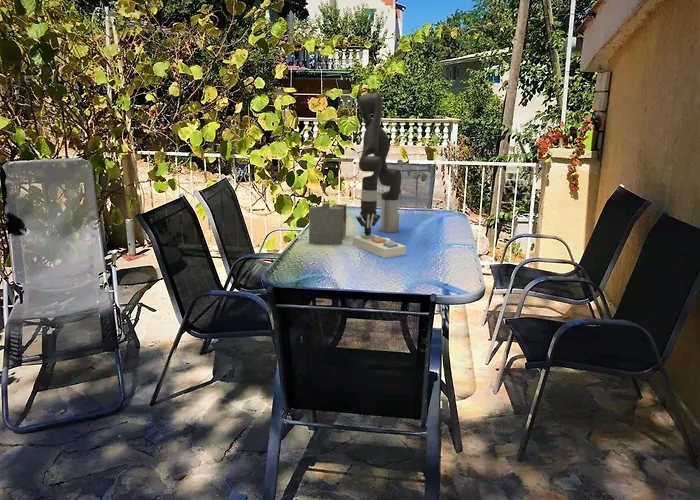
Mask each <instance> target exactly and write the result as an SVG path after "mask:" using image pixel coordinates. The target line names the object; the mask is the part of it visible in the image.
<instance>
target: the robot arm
mask: <svg viewBox="0 0 700 500" xmlns="http://www.w3.org/2000/svg"><path fill="white" fill-rule="evenodd" d="M357 103H358V104H357V105H358V108H359V112H360V116H361V117H362V120H363V122H364V125H365V131H364V134H363V142H362V143H363V144H362V145H363V147H362V153H361V156H360V158H359V162H358V168H359V170H360V171H361V172H366V173H367V172H370V173H371V172H373V173H372V175H369V176H368V175H367V176H364V177H362V180H361V193H360V194H361V195H360V213H359V215H357V216H355V219H356V220H357V222H358V223H359V225H360V226H361V227H364V233H363V234H365V235H367V236H368V235H370V234H372V227H375V226H376V224H377V223H378V221H379V223H380V224H379V231H380V232H383V233H397V232H399V231H398V230H399V229H400V228H399V227H400V213H399V204H400V203H399V200H400V196H401V185H402V179H403V177H402V172H401V170H400V169H397V168H389V167H388V164H387V157H388V155H389V152H390V149H391V148H390V147H391V144H390V141H389V137H388V134H387V132H386V131H385V130H384V129H383V128H382V127H381V121H382V115H383V109H384V103H383V98H382V95H381V94H380V93H379V92H374V93H368V94H363V95H360V96H359V97H358V99H357ZM372 115H373V117H372ZM371 155H372V156H371ZM378 180H379V183H380V184H381V185H382V186H385V187H389V190H388V191H386V192H382V194H381V196H380V197H381V198H380V199H381V201H380V214H378V212H377V208H378V207H377V206H378ZM379 219H380V220H379Z"/></svg>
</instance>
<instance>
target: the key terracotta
mask: <svg viewBox="0 0 700 500" xmlns="http://www.w3.org/2000/svg"><path fill="white" fill-rule="evenodd" d="M383 238H384V237H382V238H373V239H372V241H373V242H375V243H384V242H386V240H385V239H386V238H385V239H383Z"/></svg>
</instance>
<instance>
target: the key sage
mask: <svg viewBox="0 0 700 500" xmlns="http://www.w3.org/2000/svg"><path fill="white" fill-rule="evenodd" d="M374 235H375V234H374ZM374 235H372V233H371V234H370V235H368V236H367V235H365V233H362V234H361V235H360V236H361V237H362V238H365V239H371V238H375V236H374Z"/></svg>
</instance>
